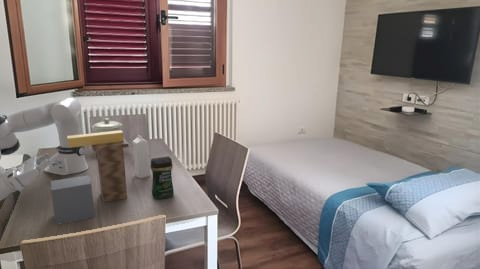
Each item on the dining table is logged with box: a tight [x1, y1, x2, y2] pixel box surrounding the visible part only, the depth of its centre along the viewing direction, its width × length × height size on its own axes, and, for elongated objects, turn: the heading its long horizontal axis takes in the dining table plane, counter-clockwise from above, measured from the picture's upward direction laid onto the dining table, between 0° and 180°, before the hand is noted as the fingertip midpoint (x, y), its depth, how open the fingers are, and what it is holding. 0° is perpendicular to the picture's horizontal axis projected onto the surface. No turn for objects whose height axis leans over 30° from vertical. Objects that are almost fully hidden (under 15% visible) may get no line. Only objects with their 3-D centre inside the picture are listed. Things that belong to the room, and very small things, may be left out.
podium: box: [50, 174, 96, 225], centre depth 139 cm, size 14×10×14 cm
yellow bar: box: [67, 129, 125, 148], centre depth 150 cm, size 22×4×4 cm, turn 118°
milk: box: [132, 134, 151, 179], centre depth 181 cm, size 6×6×22 cm
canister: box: [91, 117, 123, 133], centre depth 224 cm, size 18×18×21 cm
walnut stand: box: [90, 138, 130, 203], centre depth 156 cm, size 14×14×26 cm
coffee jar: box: [150, 155, 175, 200], centre depth 157 cm, size 10×8×19 cm
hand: (48, 157), depth 143 cm, fingers open, 8 cm apart
